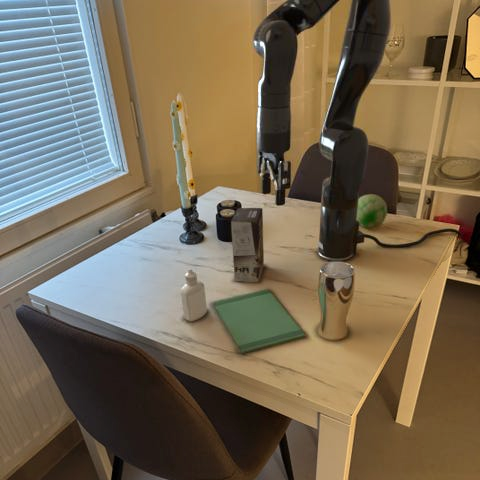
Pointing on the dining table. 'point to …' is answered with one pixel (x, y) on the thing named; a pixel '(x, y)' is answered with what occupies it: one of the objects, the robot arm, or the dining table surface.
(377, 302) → the dining table surface
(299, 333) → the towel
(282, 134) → the robot arm
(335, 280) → the beer glass
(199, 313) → the eye dropper bottle
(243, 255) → the coffee box
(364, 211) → the decorative ball
